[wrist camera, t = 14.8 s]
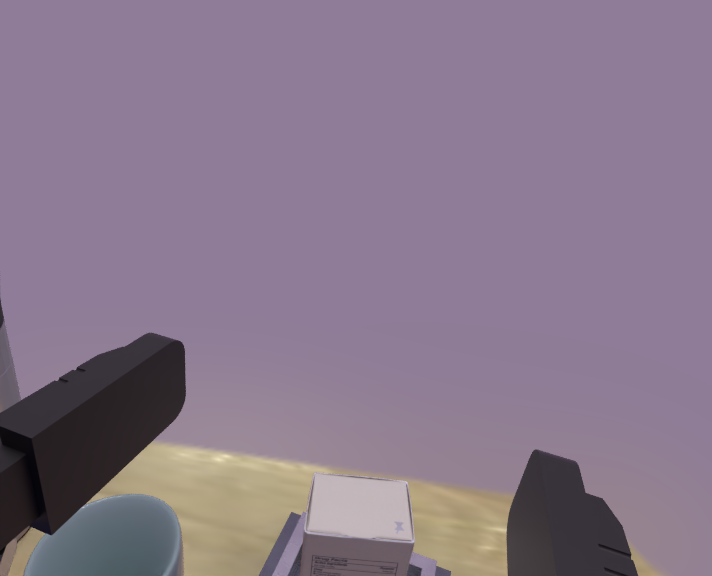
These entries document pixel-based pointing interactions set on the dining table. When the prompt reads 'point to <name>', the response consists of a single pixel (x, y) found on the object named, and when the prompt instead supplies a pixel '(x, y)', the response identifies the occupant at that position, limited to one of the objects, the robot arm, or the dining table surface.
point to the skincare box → (357, 527)
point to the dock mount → (287, 553)
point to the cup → (113, 541)
